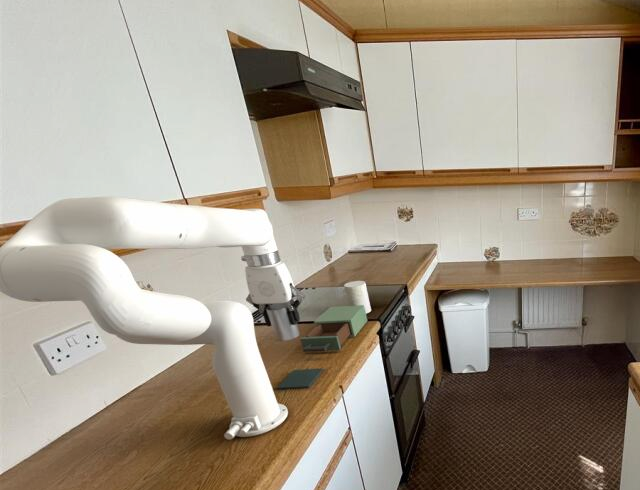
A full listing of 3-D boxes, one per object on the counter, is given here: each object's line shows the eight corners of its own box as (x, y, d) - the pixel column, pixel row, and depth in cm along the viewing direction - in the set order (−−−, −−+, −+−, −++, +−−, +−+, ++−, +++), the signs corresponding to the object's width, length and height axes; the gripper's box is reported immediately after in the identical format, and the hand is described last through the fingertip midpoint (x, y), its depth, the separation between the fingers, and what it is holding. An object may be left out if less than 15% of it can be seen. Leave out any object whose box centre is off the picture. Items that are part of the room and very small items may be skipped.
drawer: (334, 356, 130) (330, 343, 127) (297, 358, 130) (293, 345, 128) (353, 333, 146) (350, 320, 144) (321, 334, 146) (317, 322, 144)
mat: (308, 387, 115) (308, 386, 114) (277, 389, 115) (276, 387, 114) (323, 370, 124) (322, 368, 123) (294, 371, 124) (293, 369, 123)
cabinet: (354, 336, 145) (350, 319, 142) (318, 338, 145) (313, 321, 142) (367, 320, 158) (364, 305, 156) (334, 322, 158) (330, 306, 156)
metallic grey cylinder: (293, 340, 111) (283, 309, 107) (271, 341, 111) (261, 310, 107) (303, 331, 116) (294, 301, 112) (282, 332, 116) (273, 302, 112)
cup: (346, 314, 165) (339, 286, 160) (357, 307, 173) (351, 280, 167) (364, 315, 164) (357, 287, 158) (374, 308, 171) (369, 281, 166)
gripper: (220, 265, 101) (244, 331, 108) (289, 261, 101) (309, 327, 108) (238, 257, 107) (260, 320, 115) (303, 254, 107) (320, 316, 115)
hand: (283, 323), depth 112 cm, fingers closed on metallic grey cylinder, 6 cm apart
